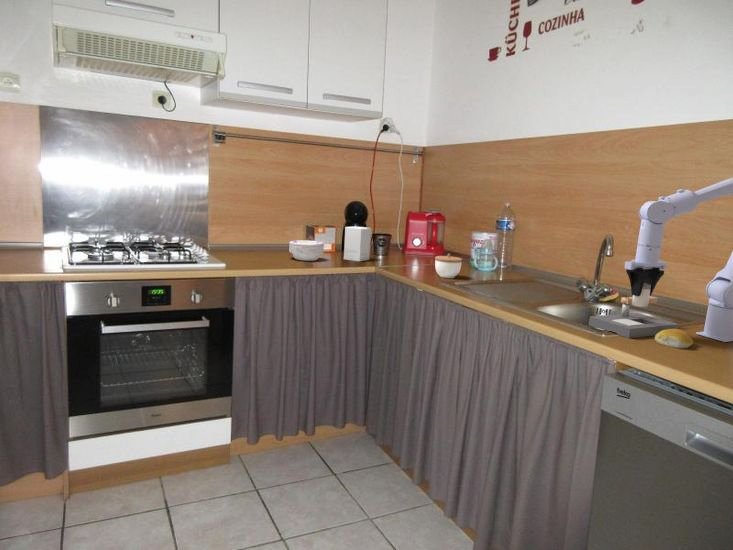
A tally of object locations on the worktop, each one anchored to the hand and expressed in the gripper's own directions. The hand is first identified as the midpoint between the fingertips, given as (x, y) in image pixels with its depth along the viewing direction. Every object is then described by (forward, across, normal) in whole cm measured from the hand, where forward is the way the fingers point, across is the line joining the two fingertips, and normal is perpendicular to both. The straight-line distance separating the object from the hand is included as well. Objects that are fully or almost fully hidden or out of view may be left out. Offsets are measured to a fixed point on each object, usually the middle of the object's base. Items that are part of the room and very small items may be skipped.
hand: (641, 295), depth 148 cm
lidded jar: (+10, +7, -81) cm, 82 cm away
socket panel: (+10, 0, -1) cm, 10 cm away
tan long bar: (+4, -7, -6) cm, 10 cm away
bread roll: (+10, +1, +12) cm, 16 cm away
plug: (+3, 0, 0) cm, 3 cm away
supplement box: (+11, +26, -126) cm, 129 cm away
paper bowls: (+11, +50, -128) cm, 138 cm away
